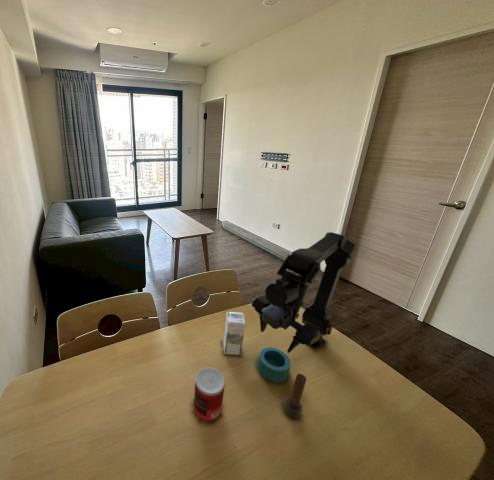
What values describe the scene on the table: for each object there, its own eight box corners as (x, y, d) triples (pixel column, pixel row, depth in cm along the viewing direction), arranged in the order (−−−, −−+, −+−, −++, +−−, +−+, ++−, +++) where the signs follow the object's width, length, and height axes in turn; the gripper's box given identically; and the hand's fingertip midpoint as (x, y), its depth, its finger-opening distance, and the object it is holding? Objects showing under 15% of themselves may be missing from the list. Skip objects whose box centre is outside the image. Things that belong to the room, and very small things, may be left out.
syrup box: (238, 343, 92) (243, 311, 87) (240, 356, 87) (245, 323, 81) (222, 342, 93) (226, 310, 87) (224, 355, 87) (228, 321, 82)
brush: (290, 401, 72) (299, 368, 67) (302, 414, 69) (313, 380, 64) (280, 408, 70) (289, 374, 65) (293, 421, 67) (303, 387, 62)
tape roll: (270, 354, 88) (273, 343, 86) (293, 374, 80) (296, 363, 78) (251, 365, 83) (253, 353, 82) (273, 387, 76) (276, 375, 74)
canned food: (223, 399, 72) (226, 371, 68) (218, 427, 65) (222, 398, 61) (197, 391, 75) (199, 363, 70) (190, 417, 68) (191, 388, 63)
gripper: (247, 283, 72) (233, 328, 77) (309, 324, 58) (287, 375, 63) (270, 278, 78) (256, 320, 83) (331, 313, 64) (310, 361, 69)
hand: (274, 341), depth 74 cm, fingers open, 9 cm apart
